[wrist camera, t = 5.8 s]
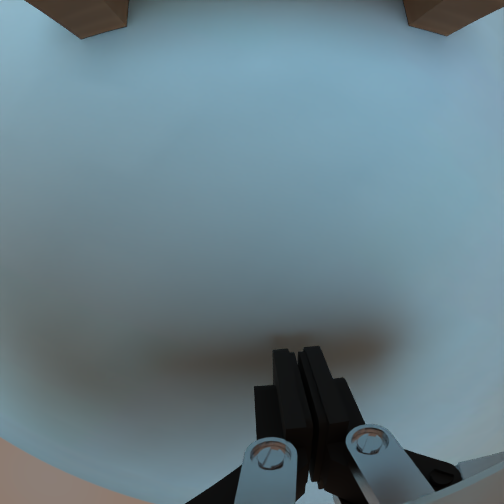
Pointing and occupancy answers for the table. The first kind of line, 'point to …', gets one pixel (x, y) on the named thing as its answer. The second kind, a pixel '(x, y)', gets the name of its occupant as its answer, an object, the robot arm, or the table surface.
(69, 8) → the bridge
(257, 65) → the table surface
